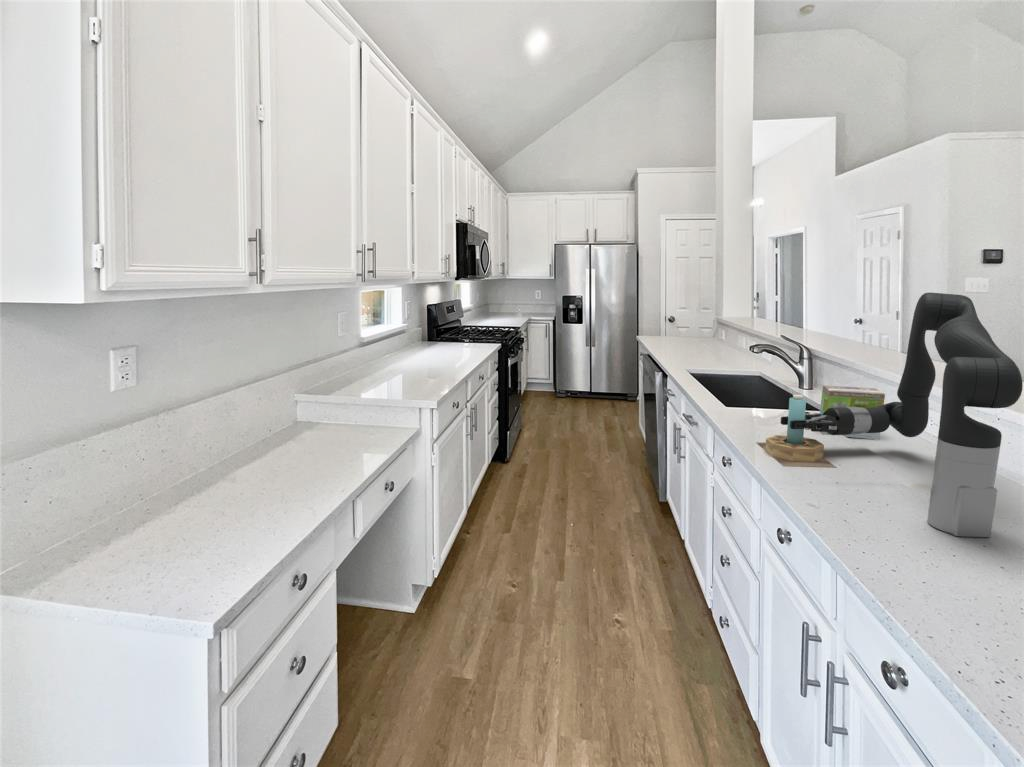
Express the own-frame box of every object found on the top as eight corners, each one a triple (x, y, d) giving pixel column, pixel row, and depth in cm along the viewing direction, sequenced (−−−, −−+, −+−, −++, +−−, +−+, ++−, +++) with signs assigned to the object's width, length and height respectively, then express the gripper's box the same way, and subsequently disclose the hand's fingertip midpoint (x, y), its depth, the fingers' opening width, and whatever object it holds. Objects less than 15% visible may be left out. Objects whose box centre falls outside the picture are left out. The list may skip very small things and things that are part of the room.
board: (836, 472, 141) (837, 467, 140) (783, 470, 142) (783, 466, 142) (801, 447, 162) (802, 443, 162) (755, 446, 164) (755, 442, 163)
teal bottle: (804, 455, 150) (809, 396, 147) (788, 454, 150) (793, 396, 147) (798, 450, 154) (802, 393, 151) (783, 450, 154) (787, 393, 151)
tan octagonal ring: (829, 462, 145) (830, 449, 144) (777, 460, 146) (778, 448, 146) (808, 447, 158) (809, 435, 157) (760, 446, 159) (761, 434, 158)
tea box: (825, 437, 173) (829, 390, 171) (817, 429, 183) (821, 384, 180) (880, 440, 169) (885, 392, 166) (870, 432, 178) (874, 386, 176)
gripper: (831, 402, 158) (772, 403, 157) (866, 413, 144) (802, 415, 143) (829, 427, 159) (771, 429, 158) (863, 441, 145) (799, 443, 144)
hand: (786, 422), depth 150 cm, fingers closed on teal bottle, 4 cm apart
